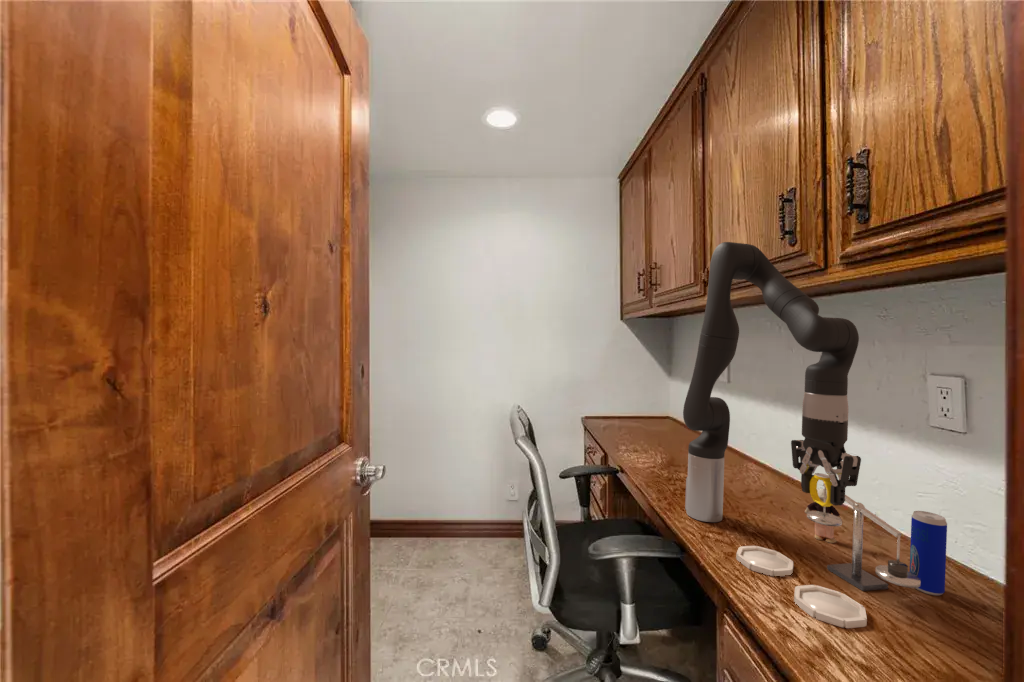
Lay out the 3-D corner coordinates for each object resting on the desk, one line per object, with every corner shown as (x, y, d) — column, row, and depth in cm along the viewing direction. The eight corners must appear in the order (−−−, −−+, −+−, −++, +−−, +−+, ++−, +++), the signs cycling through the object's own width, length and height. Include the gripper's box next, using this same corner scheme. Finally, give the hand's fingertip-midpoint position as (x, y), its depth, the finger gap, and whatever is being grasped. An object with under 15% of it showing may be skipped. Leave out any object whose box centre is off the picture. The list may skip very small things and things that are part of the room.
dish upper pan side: (726, 552, 100) (727, 547, 100) (767, 549, 101) (767, 544, 101) (760, 577, 89) (760, 572, 89) (805, 574, 91) (805, 568, 91)
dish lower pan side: (780, 593, 84) (781, 587, 84) (827, 589, 86) (828, 583, 86) (829, 630, 73) (829, 623, 73) (881, 624, 75) (882, 618, 75)
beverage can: (908, 578, 90) (910, 508, 90) (942, 588, 87) (945, 515, 87) (910, 589, 86) (912, 515, 86) (946, 600, 83) (949, 523, 83)
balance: (798, 552, 100) (801, 478, 100) (822, 551, 101) (825, 477, 101) (900, 614, 78) (903, 518, 78) (929, 611, 79) (932, 517, 79)
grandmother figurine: (840, 540, 107) (842, 489, 107) (842, 546, 104) (843, 494, 104) (803, 531, 112) (805, 483, 112) (803, 537, 109) (805, 487, 108)
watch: (838, 511, 84) (840, 481, 84) (823, 510, 84) (825, 481, 84) (818, 497, 90) (820, 470, 90) (804, 497, 90) (806, 469, 90)
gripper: (780, 409, 93) (777, 486, 94) (841, 423, 79) (838, 513, 79) (810, 409, 95) (807, 485, 95) (875, 422, 81) (872, 512, 81)
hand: (821, 498), depth 87 cm, fingers closed on watch, 6 cm apart
